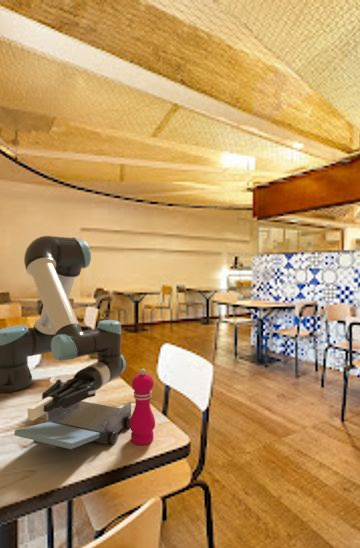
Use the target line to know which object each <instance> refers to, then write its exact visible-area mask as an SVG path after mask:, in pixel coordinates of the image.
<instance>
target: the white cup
mask: <svg viewBox="0 0 360 548" xmlns="http://www.w3.org/2000/svg"><path fill="white" fill-rule="evenodd" d="M74 376H75V375H71V374H61V375H60V374H59V375H56V376H52V377H51V378H50V379H49V388H50V387H51V386H53V385H54V384H55V383H56V381H57V380H61V381H62V382H67V380H70V379H73V378H74Z"/></svg>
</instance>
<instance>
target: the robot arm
mask: <svg viewBox="0 0 360 548" xmlns="http://www.w3.org/2000/svg"><path fill="white" fill-rule="evenodd" d="M86 241H87V240H84V239H81V238H76V237H65V236H52V235H43V236H39V237H37V238H34V240H32V241H31V242H30V244H28V245H27V248H26V250H25V252H24V253H25V254H24V256H23V257H24V259H23V261H24V268H25V270H26V272H27V274H28V275H29V276H30V277H32V279H33V281H34V284H35V287H36V288H37V289H36V290H37V292H38V294H39V297H40V299H41V302H42V304H43V305H42V310H41V313H40V317H39V318H37V319H36V320H35V322H34V325H33V327H28V326H27V325H25V324H19V325H10V326H7V327H3V328H1V329H0V394H3V393H4V394H6V393H12V392H17V391H21V390H24V389H26V388H28V387H30V386H31V385H32V384H33V375H32V373H31V369H30V367H29V365H28V364H29V363H28V358H29V357H33V356H38V355H44V354H48V353H51V355H52V357H53V358H54V360H56V361H59V362H62V361H63V362H64V361H70V360H75V359H78V358H80V357H81V358H82V357H86V356H90V355H93V354H94V355H95V354H97V355H96V356H97V361H95V362H93V363H92V364H90V365H88V366H85V367H83V368H82V369H80V370H78V371H77V372H76V373H75V374H74V375H73V376H74V378H73V379H70V380H67V382H62V381H61V380H57V381H56V383H55V384H54V385H53V386H51V387H50V386H49V388H47V389H46V390H45V391H44V392H42V394H41V400H40V401H37V402H36V403H34V404H33V405H31V406H29V407H27V420H28V421H35V420H36V419H38V418H40V417H41V416H43V415H46V412H49V411H51V410H52V409H54V408H59V407H60V406H62V408H67V407H69V406H71V405H73V404H76V403H78V402H80V401H84V400H86V399H88V398H92V397H95V396H96V391H98V390H99V389H101V388H102V387H103V386H105V385H107V384H108V383H110V382H111V381H113V380H115V379H116V378H118V377H120V375H122V374H123V373H124V371H125V370H126V368H127V361H126V359H125V357H124V355H122V353H121V352H122V351H121V347H122V346H121V345H122V344H121V343H122V325H121V321H118V320H113V319H104V320H100V321H98V322H97V327H96V328H94V329H93V328H92V329H88V330H82V328H81V325H80V323H79V320H78V319H77V316H76V313H75V312H74V309H73V307H72V304H71V302H70V300H69V299H70V295H71V291H72V288H73V285H74V281H75V278H77V277H79V276H80V274H81V272H82V269H86V268H88V267H89V266H90V263H91V262H92V261H91V260H92V253H91V250H90V249H91V248H90V246H89V244H88V243H87V242H86ZM67 402H68V403H67Z"/></svg>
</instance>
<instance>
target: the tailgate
mask: <svg viewBox="0 0 360 548" xmlns="http://www.w3.org/2000/svg"><path fill="white" fill-rule="evenodd" d="M13 436H16V437H19V438H22V439H24V438H25V439H27V440H32V441H33V444H35V445H39V446H43V447H46V448H51V449H55V448H57V447H61V448H65V449H69V450H72V449H75V448H78V447H80V446H83V445H85V444H89V443H90V442H94V441H93V440H95V439H98V438H99V437H100V433H98V432H93V431H89V430H84V429H79V428H75V427H70V426H65V425H61V424H56V423H52V422H46V421H45V422H43V423H38V424H34V425H31V426H26V427H23V428H18V429H15V430H14V433H13Z"/></svg>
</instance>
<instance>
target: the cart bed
mask: <svg viewBox="0 0 360 548" xmlns="http://www.w3.org/2000/svg"><path fill="white" fill-rule="evenodd" d="M67 403H68V402H67ZM131 416H132V402H131V401H128V402H126V403H125V405H123V406H122V407H117V406H111V405H106V404H99V403H95V402H88V401H84V400H82V401H80V402H78V403H76V404H73V405H71V406H69V407H67V408H62V406H60V407H59V408H54V409H52V410H51V411H49V412H46V413H45V423H46V422H52V423H56V424H61V425H65V426H70V427H75V428H79V429H84V430H89V431H93V432H98V433H100V437H99V438H98V439H95V440H93V441H92V442H97V443H101V444H104V445H107V444H108V443H109V444H112V445H115V444H117V441H118V438H119V434H118V433H119V432H120V431H122V429H123V428H128V429H130V426H129V425H130V419H131Z"/></svg>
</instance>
